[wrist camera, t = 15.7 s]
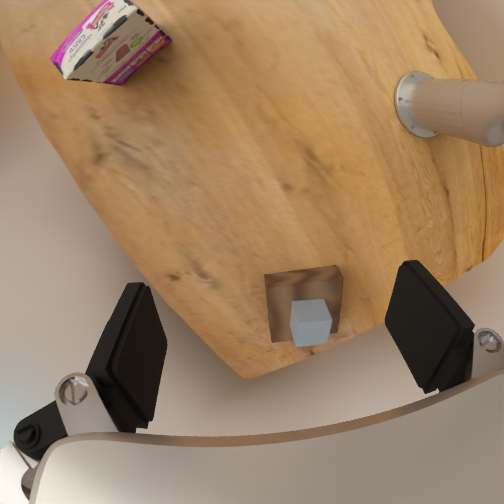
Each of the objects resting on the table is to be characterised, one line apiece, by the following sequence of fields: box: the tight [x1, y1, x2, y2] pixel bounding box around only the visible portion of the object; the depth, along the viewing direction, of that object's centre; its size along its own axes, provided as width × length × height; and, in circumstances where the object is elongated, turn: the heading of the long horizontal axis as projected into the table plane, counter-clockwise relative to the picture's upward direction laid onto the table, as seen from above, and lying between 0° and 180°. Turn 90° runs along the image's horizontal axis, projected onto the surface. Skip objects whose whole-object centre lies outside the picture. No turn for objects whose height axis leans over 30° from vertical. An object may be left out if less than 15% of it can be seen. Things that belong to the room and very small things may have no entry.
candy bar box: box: [49, 0, 172, 85], centre depth 25 cm, size 11×5×16 cm, turn 127°
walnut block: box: [264, 265, 343, 343], centre depth 54 cm, size 14×14×5 cm
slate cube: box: [290, 299, 332, 347], centre depth 49 cm, size 6×6×6 cm
